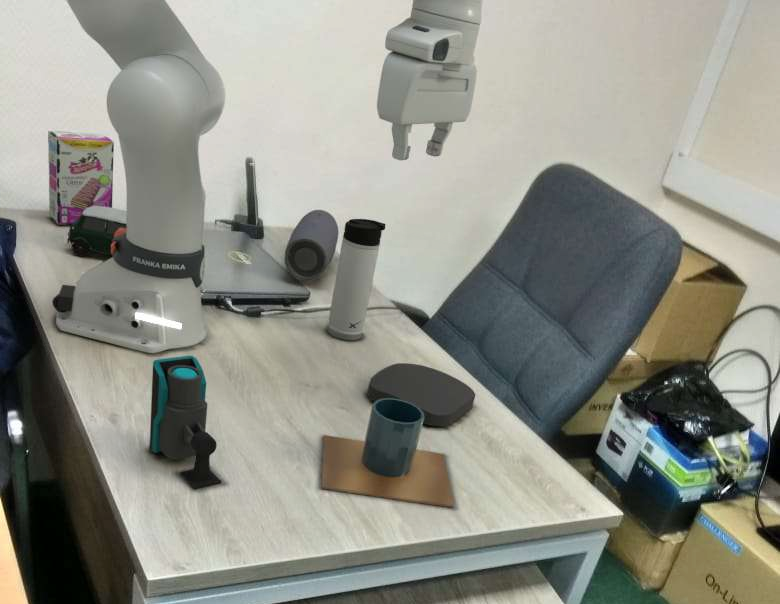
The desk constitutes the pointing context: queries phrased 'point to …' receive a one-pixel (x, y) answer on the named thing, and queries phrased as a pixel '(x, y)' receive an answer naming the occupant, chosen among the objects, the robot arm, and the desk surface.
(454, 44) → the robot arm
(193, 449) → the surveillance camera
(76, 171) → the candy bar box
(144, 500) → the desk surface
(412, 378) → the media streaming box
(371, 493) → the brown flat rectangular board
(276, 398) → the desk surface
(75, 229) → the miniature car
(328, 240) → the bluetooth speaker
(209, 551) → the desk surface
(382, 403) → the cup
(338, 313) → the travel mug
